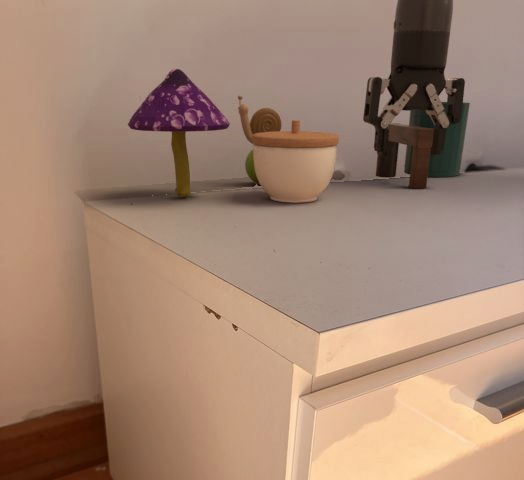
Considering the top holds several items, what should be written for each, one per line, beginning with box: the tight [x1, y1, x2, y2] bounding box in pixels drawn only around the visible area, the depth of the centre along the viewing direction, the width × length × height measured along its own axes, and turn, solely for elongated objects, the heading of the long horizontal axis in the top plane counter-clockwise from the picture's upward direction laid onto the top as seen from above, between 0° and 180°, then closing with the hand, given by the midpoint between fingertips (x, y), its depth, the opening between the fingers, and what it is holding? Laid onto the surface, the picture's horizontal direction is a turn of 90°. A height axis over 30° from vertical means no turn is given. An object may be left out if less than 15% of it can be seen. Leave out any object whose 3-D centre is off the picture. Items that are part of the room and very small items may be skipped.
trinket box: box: [251, 119, 340, 204], centre depth 72 cm, size 11×11×9 cm
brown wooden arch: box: [375, 122, 434, 189], centre depth 86 cm, size 14×3×8 cm, turn 12°
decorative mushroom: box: [127, 68, 231, 199], centre depth 70 cm, size 12×12×15 cm
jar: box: [403, 101, 471, 178], centre depth 94 cm, size 9×9×11 cm
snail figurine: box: [237, 94, 283, 185], centre depth 81 cm, size 5×6×12 cm
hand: (408, 155), depth 84 cm, fingers open, 8 cm apart
